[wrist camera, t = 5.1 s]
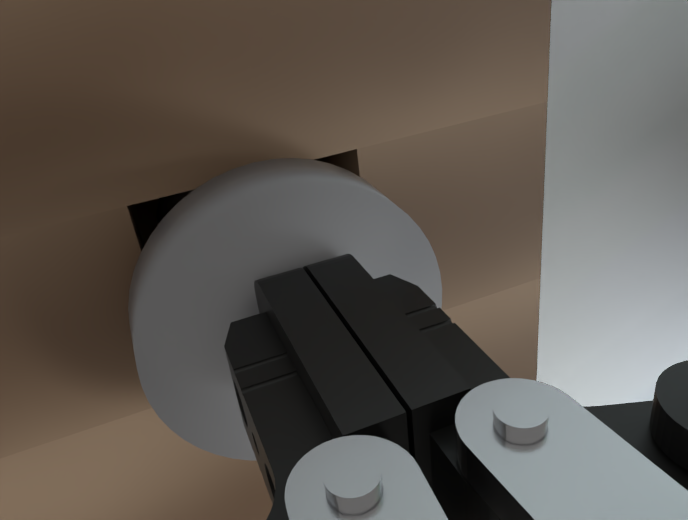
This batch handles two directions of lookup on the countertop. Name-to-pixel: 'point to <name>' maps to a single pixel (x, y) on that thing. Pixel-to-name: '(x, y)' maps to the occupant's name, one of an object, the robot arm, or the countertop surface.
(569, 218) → the countertop surface
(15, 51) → the button panel
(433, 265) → the grey button
